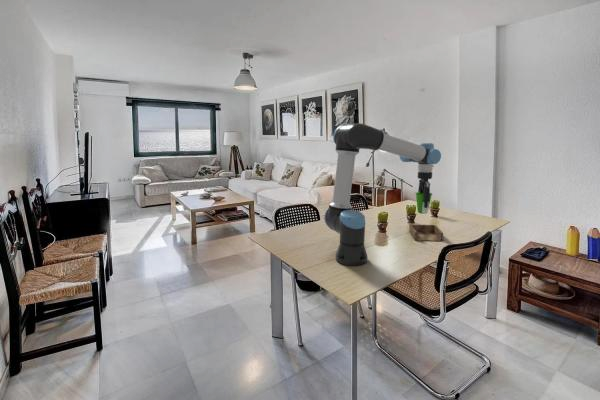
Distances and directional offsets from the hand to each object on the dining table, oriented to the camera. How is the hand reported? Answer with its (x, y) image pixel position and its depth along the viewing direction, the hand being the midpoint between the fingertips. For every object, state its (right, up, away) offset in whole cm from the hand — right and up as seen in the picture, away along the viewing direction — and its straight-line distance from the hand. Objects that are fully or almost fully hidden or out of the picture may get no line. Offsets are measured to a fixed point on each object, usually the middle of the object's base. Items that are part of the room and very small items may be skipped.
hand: (422, 210), depth 185 cm
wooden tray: (+4, -15, +6) cm, 17 cm away
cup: (0, -1, 0) cm, 1 cm away
